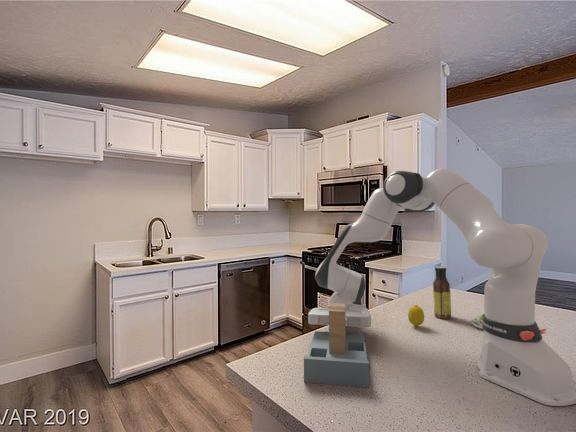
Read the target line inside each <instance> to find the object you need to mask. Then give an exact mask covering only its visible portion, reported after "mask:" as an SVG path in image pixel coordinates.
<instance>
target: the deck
mask: <svg viewBox="0 0 576 432" xmlns="http://www.w3.org/2000/svg"><path fill="white" fill-rule="evenodd" d="M365 338H366V337H365V333H355V332H353V333H352V332H350V333H349V332H346V350H345V354H338V353H329V331H318V330H317V331H314V333H313V336H312V341H311V344H310V348H309V350H308V354H307V355H304V357H303V382H304V383H309V384H310V383H312V384H324V385H334V386H336V385H337V386H345V387H346V386H347V387H355V388H356V387H359V388H369V387H370V377H369V375H370V372H369V371H370V369H369V368H370V365H369V364H370V363H369V360H368V356H367V348H366V339H365Z"/></svg>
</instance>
